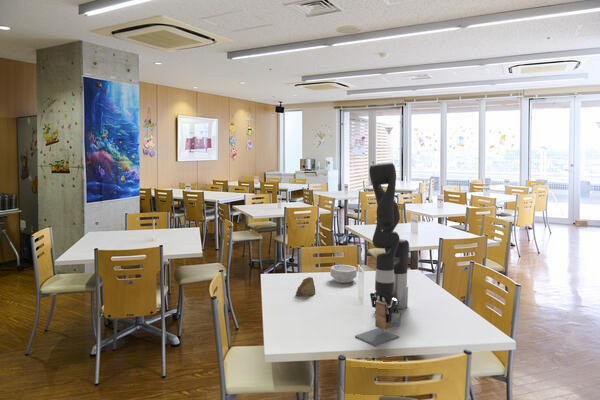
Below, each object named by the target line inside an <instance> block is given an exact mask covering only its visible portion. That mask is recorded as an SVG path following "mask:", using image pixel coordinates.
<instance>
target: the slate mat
mask: <svg viewBox="0 0 600 400" xmlns="http://www.w3.org/2000/svg"><path fill="white" fill-rule="evenodd" d="M398 337H399V338H400V336H399V335H397V334H396V333H392V332H390V331H388V330H386V329H385V330H382V329H380V328H378V327H375V328H373V329H371V330H367V331H365V332H362V333H359V334H356V335H354V338H356V339H359V340H361V341H363V342H365V343H367V342H368V343H367V344H369V343H370V344H369V345H371V344H372V346H374V345H375V346H374V347H376V345H377V346H379V344H380V345H382V344H384V342H385V343H387V341H388V342H391V341H393V340H396V339H399V338H398ZM395 338H396V339H395ZM392 339H393V340H392Z"/></svg>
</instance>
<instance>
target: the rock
mask: <svg viewBox="0 0 600 400" xmlns="http://www.w3.org/2000/svg"><path fill="white" fill-rule="evenodd" d="M315 295H316V286H315V280H314V279H313V277H310V276H309V277H308V276H307V277H306V278H304V279H302V282H301V283H300V285H299V286H298V287H297V290H296V292H295V296H297V297H304V296H306V297H307V296H315Z"/></svg>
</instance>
